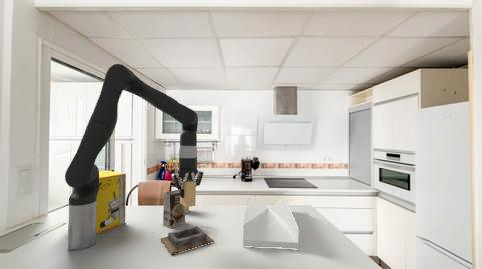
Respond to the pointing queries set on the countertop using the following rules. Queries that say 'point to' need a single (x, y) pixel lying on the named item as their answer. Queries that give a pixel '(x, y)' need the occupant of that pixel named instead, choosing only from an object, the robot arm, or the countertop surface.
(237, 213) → the countertop surface
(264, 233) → the building model
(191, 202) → the key block
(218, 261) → the countertop surface
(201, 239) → the slot base
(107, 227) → the packaging box
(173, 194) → the coffee box
